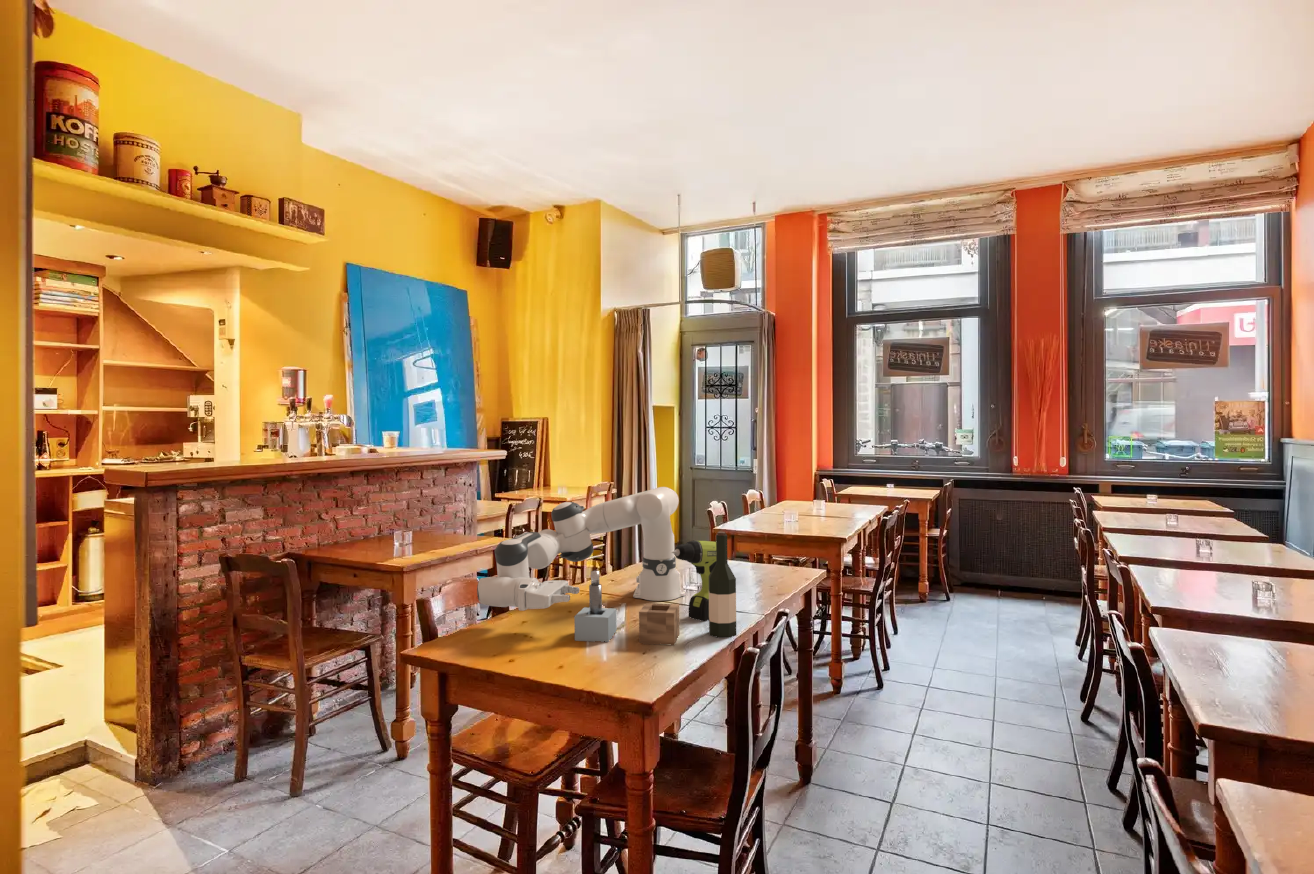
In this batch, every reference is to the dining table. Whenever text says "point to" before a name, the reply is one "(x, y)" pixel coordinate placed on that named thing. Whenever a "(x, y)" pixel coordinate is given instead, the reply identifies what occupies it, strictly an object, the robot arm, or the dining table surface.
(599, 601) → the stepped metal cylinder
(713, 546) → the cordless drill
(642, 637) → the block
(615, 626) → the socket block
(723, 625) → the wine bottle
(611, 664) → the dining table surface
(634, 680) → the dining table surface
